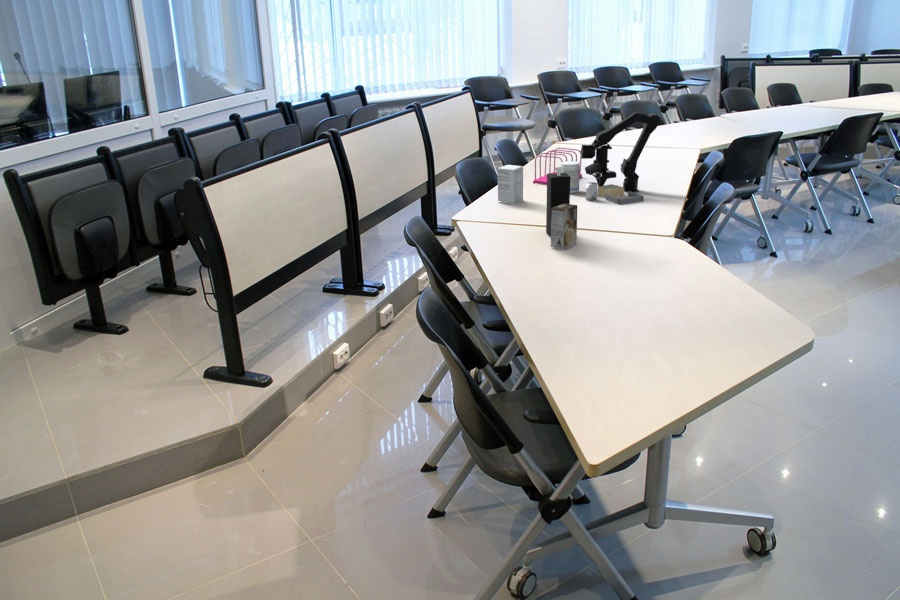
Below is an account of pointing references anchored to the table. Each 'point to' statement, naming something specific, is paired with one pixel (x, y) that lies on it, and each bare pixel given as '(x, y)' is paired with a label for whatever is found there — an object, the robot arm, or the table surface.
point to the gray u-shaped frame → (632, 198)
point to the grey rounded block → (591, 191)
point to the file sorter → (544, 178)
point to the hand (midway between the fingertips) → (600, 189)
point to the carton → (610, 190)
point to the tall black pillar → (556, 193)
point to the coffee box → (564, 226)
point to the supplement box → (510, 184)
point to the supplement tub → (572, 174)
